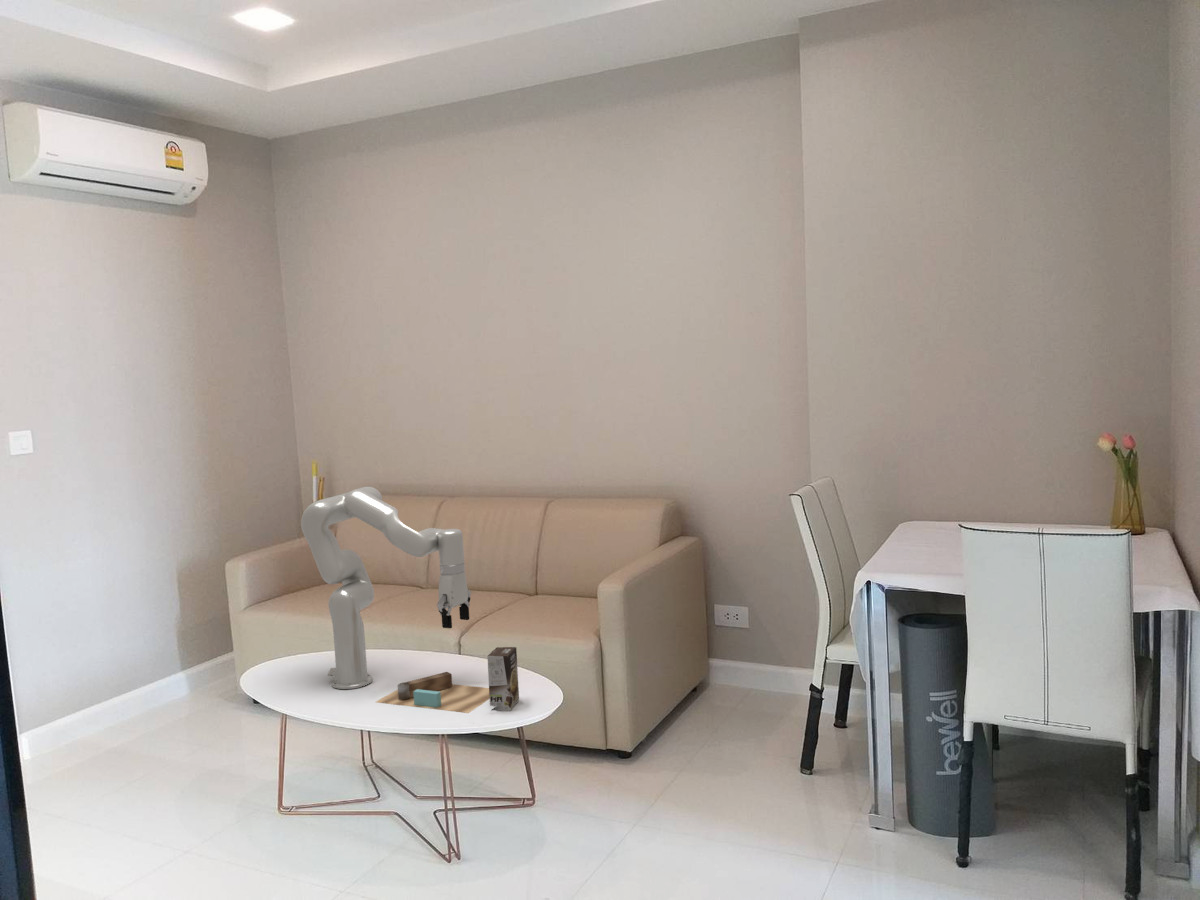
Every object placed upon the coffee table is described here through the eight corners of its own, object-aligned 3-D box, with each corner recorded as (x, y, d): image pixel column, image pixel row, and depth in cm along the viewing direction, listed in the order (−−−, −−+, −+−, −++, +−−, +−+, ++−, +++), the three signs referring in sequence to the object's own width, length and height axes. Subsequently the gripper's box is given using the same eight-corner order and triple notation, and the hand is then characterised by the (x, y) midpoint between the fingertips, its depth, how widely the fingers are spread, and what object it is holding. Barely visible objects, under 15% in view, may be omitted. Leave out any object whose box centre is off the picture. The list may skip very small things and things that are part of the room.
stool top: (375, 707, 265) (374, 702, 265) (414, 684, 284) (414, 680, 284) (468, 718, 253) (468, 713, 253) (503, 694, 271) (503, 689, 271)
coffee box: (511, 711, 257) (507, 655, 255) (489, 710, 258) (486, 655, 257) (520, 700, 266) (517, 646, 264) (499, 699, 267) (496, 646, 266)
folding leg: (401, 700, 264) (400, 687, 264) (396, 697, 267) (395, 684, 267) (452, 686, 275) (451, 674, 274) (447, 684, 277) (446, 671, 277)
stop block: (414, 704, 261) (413, 691, 261) (418, 702, 263) (417, 689, 263) (437, 707, 258) (436, 694, 258) (441, 705, 260) (440, 691, 260)
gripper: (457, 563, 287) (461, 615, 288) (426, 574, 271) (429, 630, 273) (477, 563, 284) (481, 617, 285) (446, 575, 268) (450, 632, 269)
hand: (456, 623), depth 279 cm, fingers open, 9 cm apart
